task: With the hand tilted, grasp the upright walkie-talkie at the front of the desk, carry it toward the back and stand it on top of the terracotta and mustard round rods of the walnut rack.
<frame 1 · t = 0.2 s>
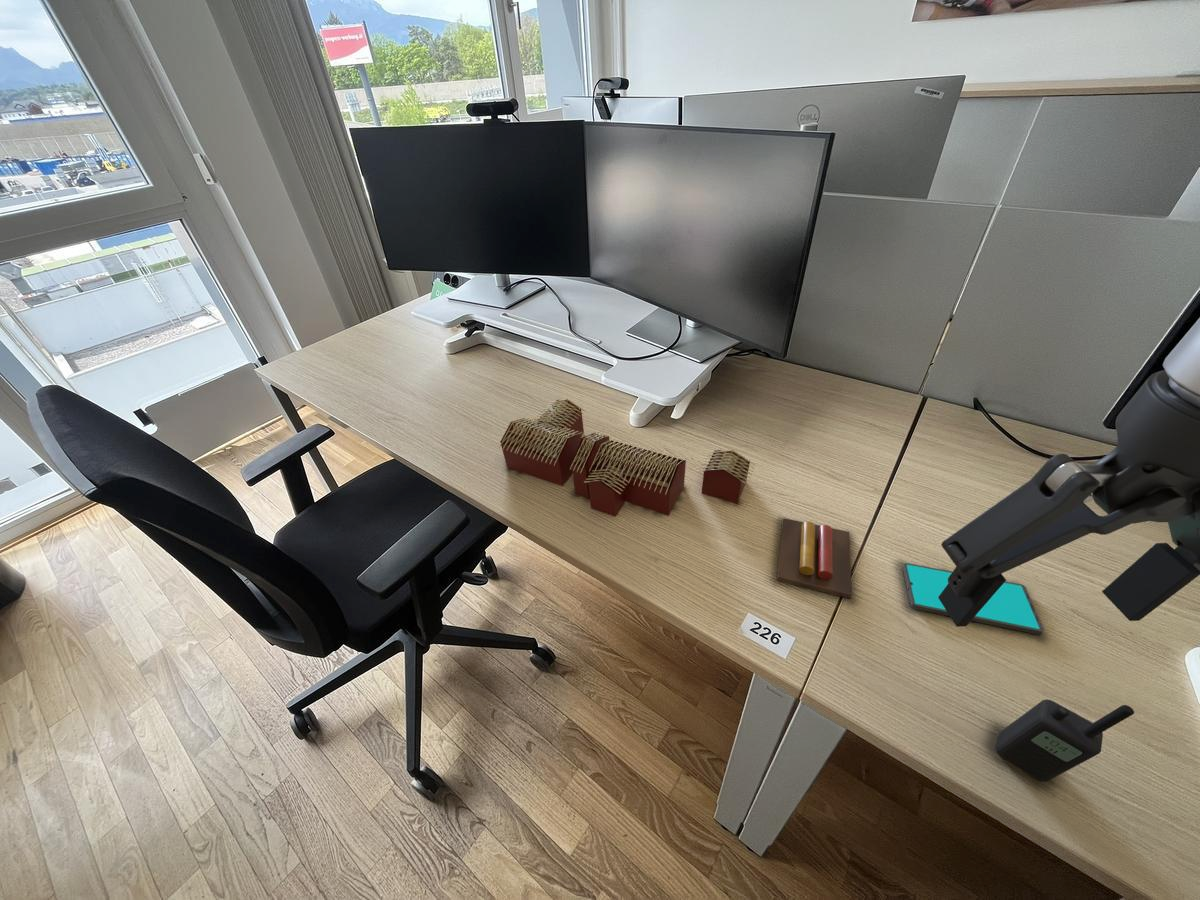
hand: (1034, 609, 38), 24 cm above the table, tool pointing down, fingers open, 13 cm apart
walkie-talkie: (1022, 756, 50), on the table
toy houses: (624, 475, 89), on the table
smartphone: (966, 598, 65), on the table
rod rack: (813, 557, 71), on the table
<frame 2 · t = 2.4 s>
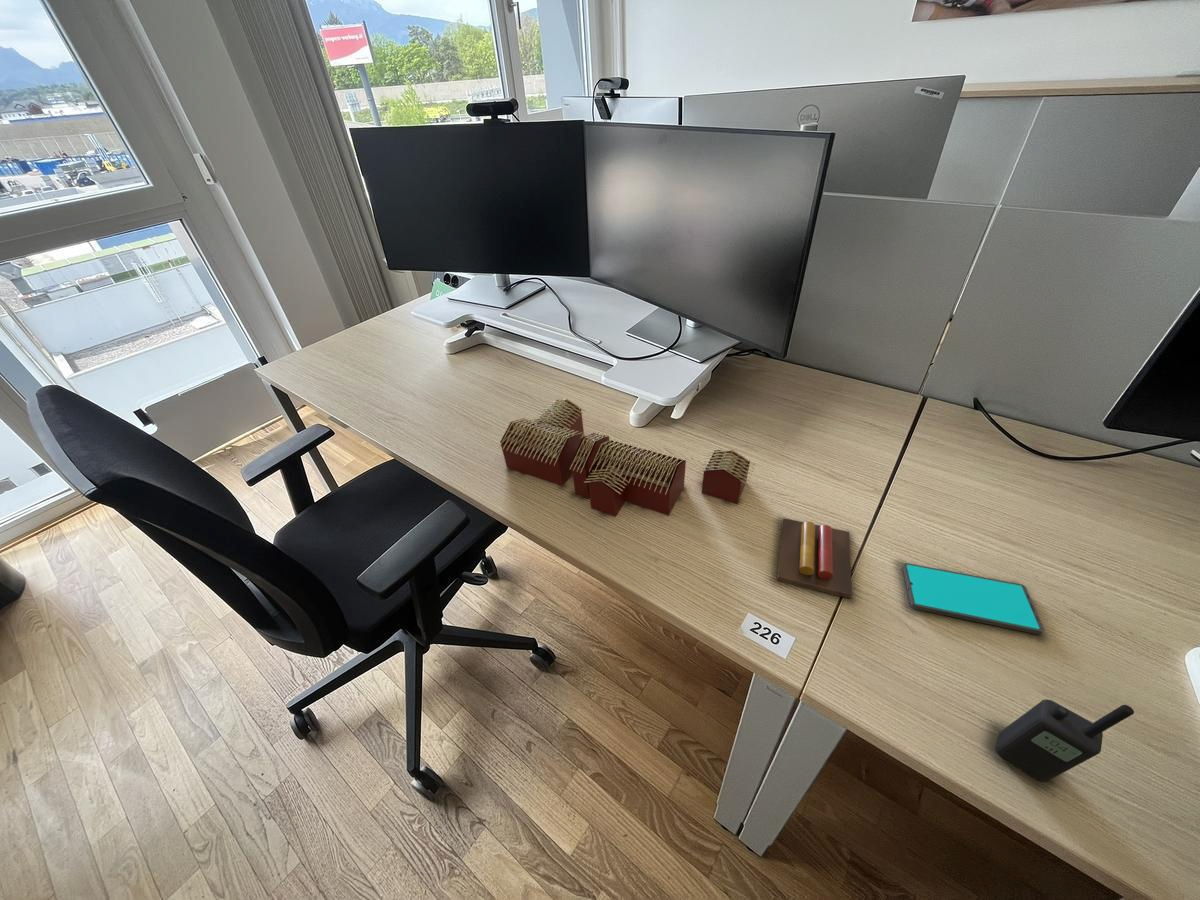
nothing on the table moved.
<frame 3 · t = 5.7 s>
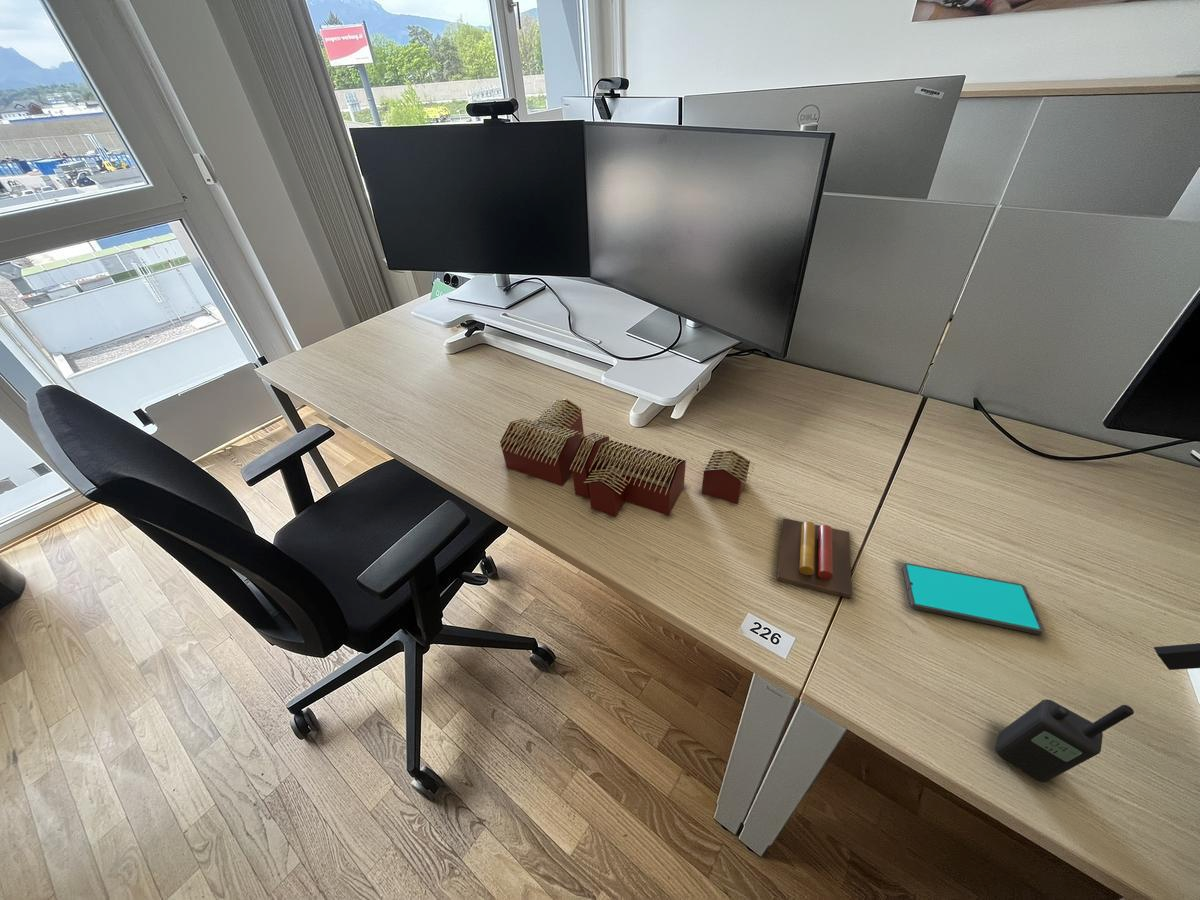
nothing on the table moved.
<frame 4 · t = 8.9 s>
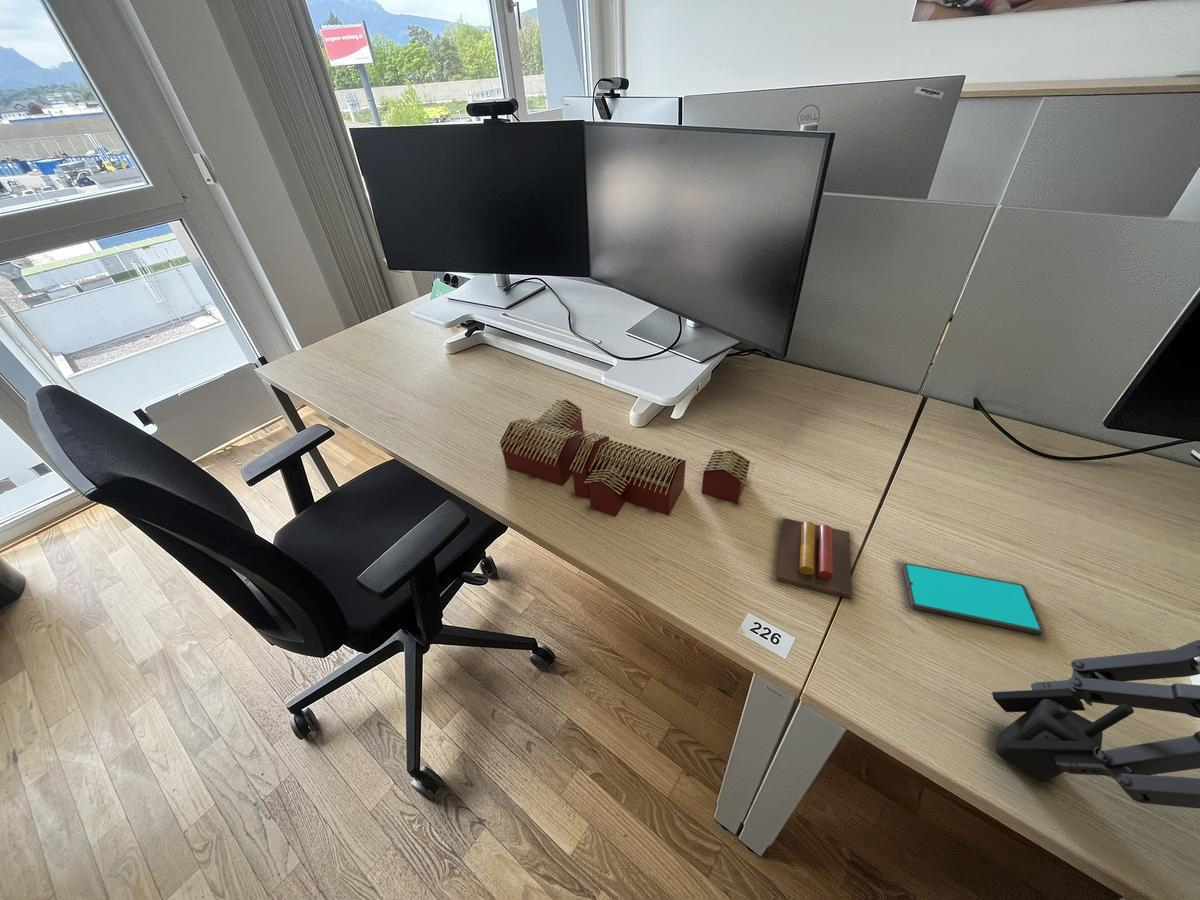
hand: (1005, 725, 48), 5 cm above the table, tool tilted 45°, fingers closed on walkie-talkie, 4 cm apart
walkie-talkie: (1022, 756, 50), on the table, touching gripper
everything else where it was.
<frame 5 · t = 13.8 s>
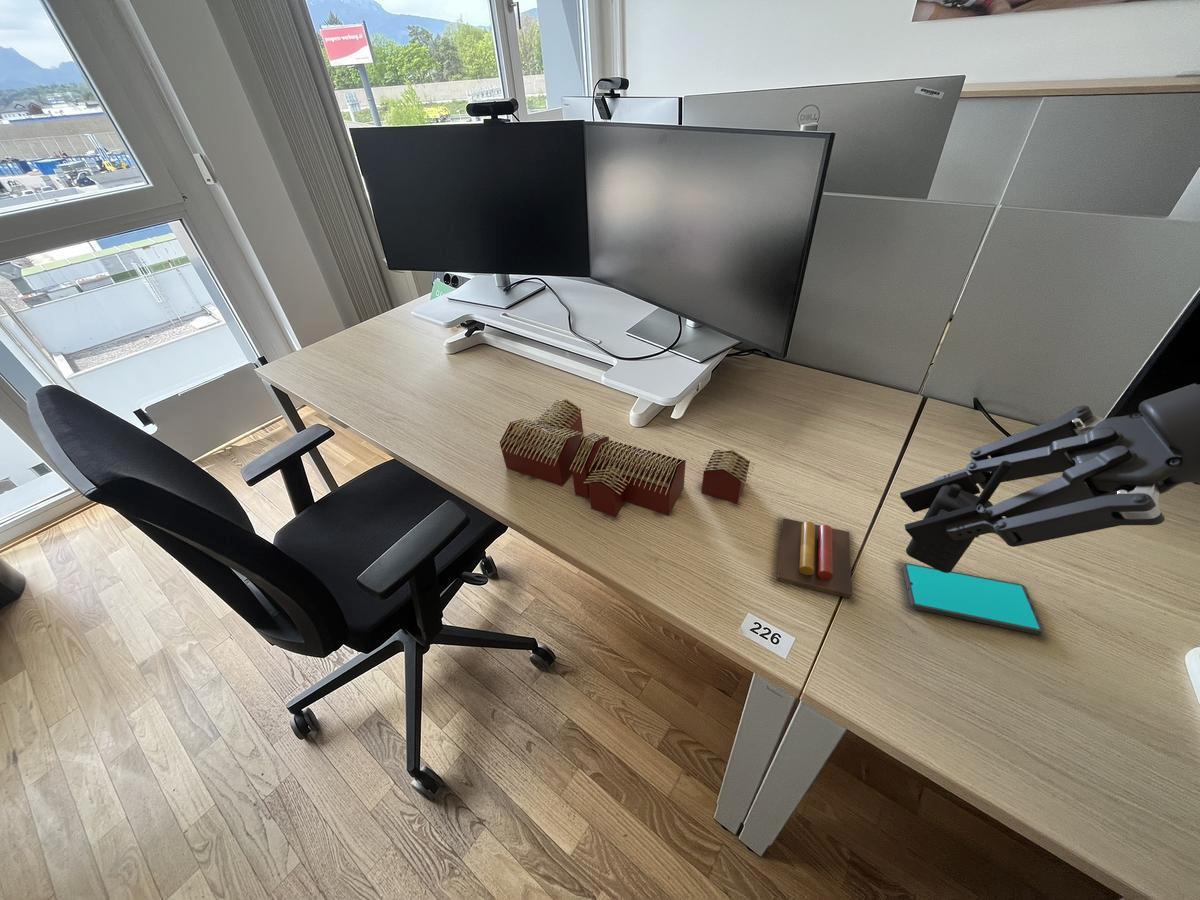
hand: (909, 518, 51), 20 cm above the table, tool tilted 45°, fingers closed on walkie-talkie, 4 cm apart
walkie-talkie: (930, 557, 53), point 15 cm above the table, touching gripper
everything else where it was.
when the fingers open (8 cm above the table, at t = 18.9 s): walkie-talkie stays where it is, resting on rod rack.
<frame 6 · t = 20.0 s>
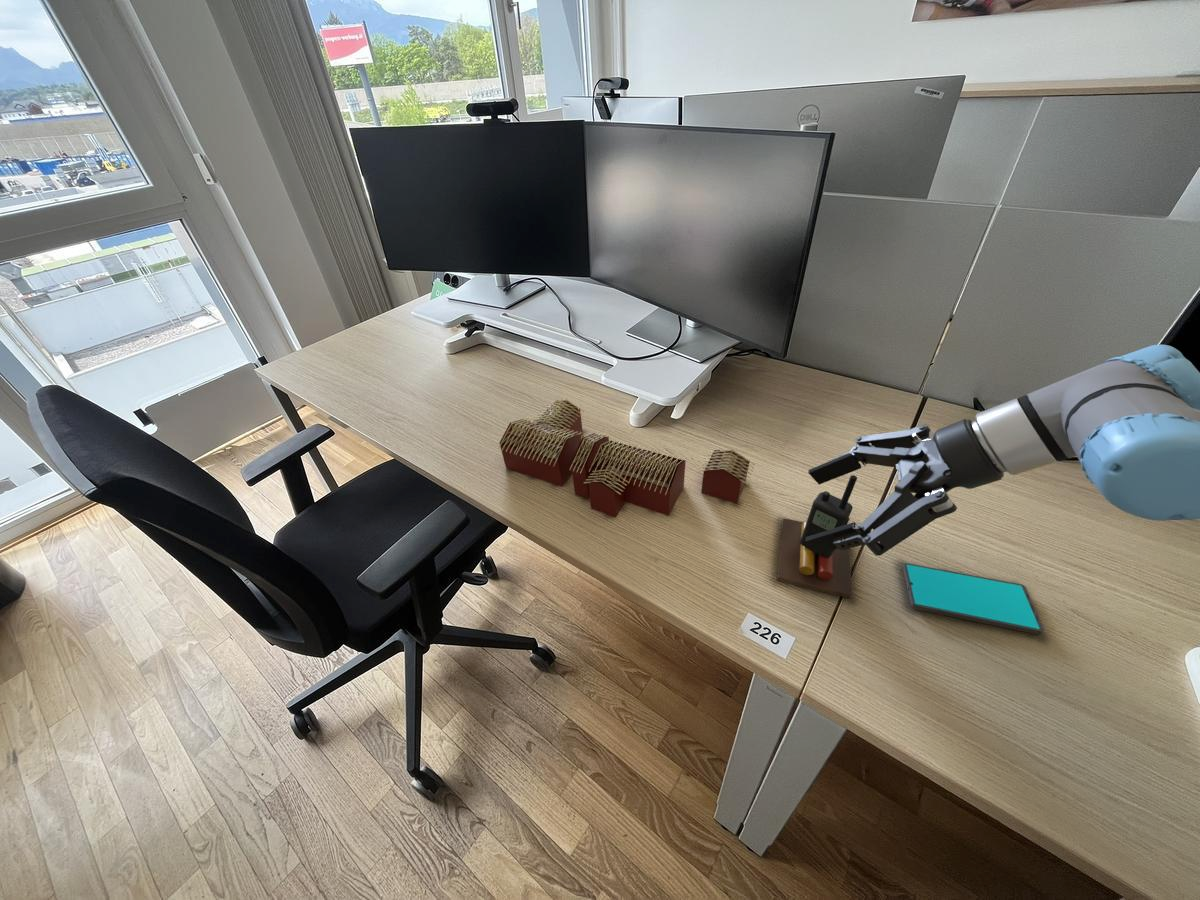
hand: (812, 509, 66), 10 cm above the table, tool tilted 45°, fingers open, 13 cm apart
walkie-talkie: (818, 546, 70), point 3 cm above the table, touching rod rack
everything else where it was.
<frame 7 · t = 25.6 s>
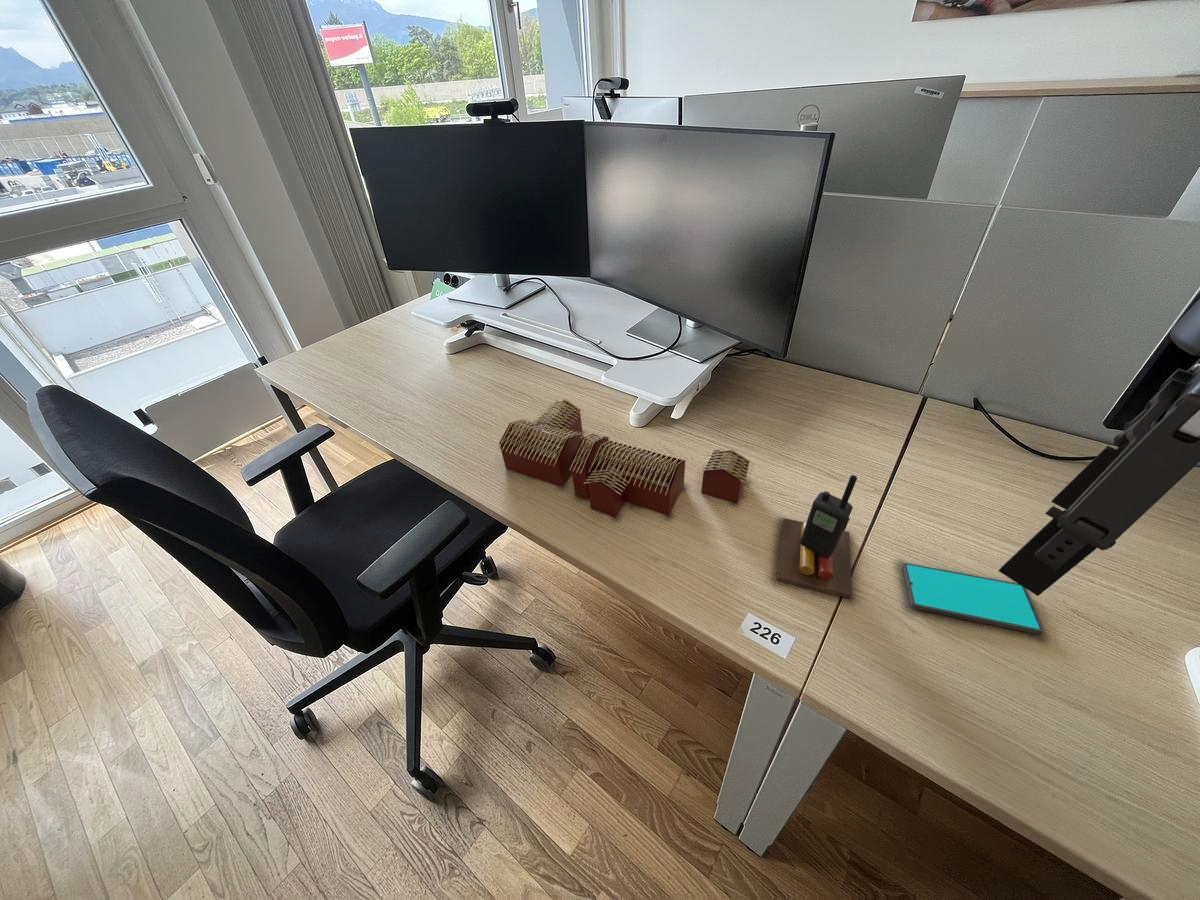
hand: (1046, 542, 39), 27 cm above the table, tool pointing down, fingers open, 13 cm apart
nothing on the table moved.
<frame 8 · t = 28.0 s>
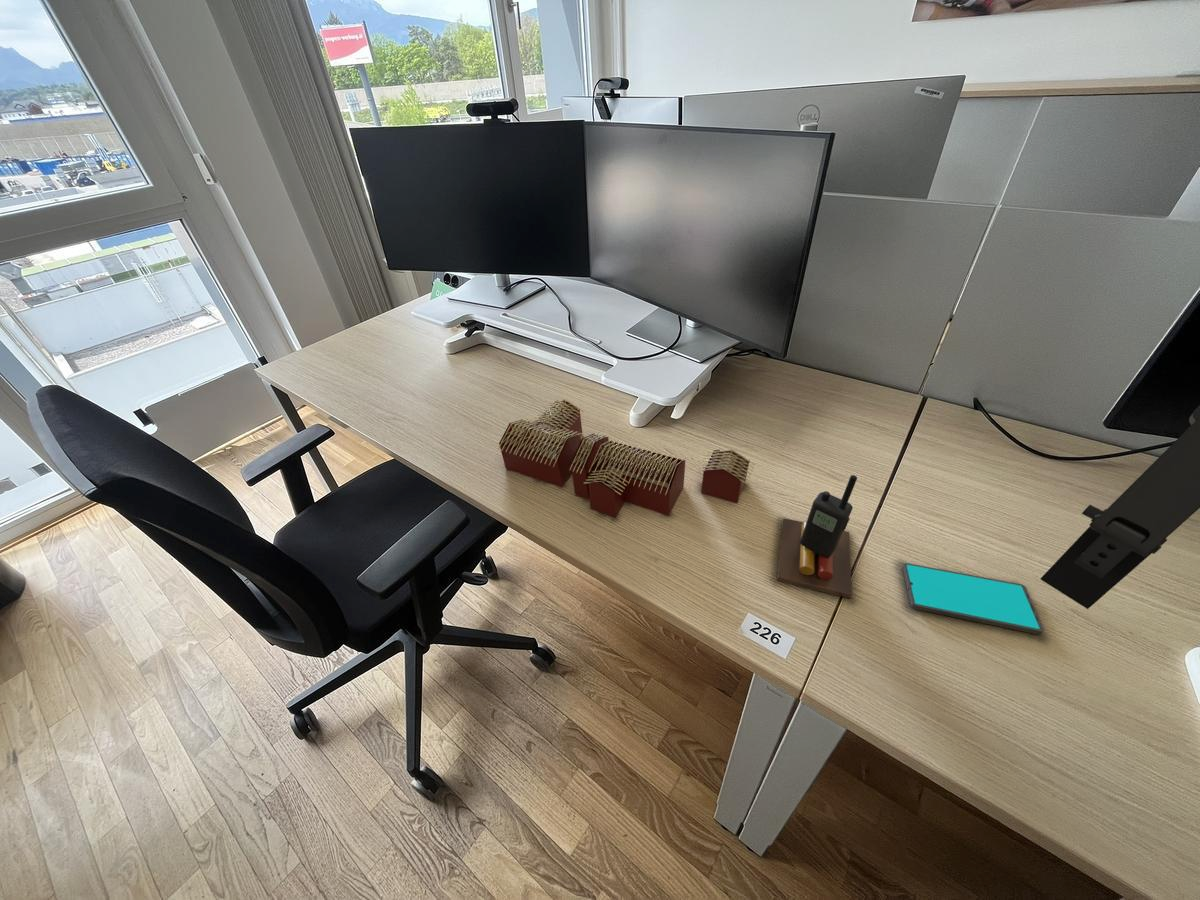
hand: (1114, 547, 33), 32 cm above the table, tool pointing down, fingers open, 13 cm apart
nothing on the table moved.
at the end: walkie-talkie 0.1 cm off-centre on the rod rack, point 2.8 cm above the rod rack's base; walkie-talkie tilted 0°; the gripper is holding nothing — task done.
